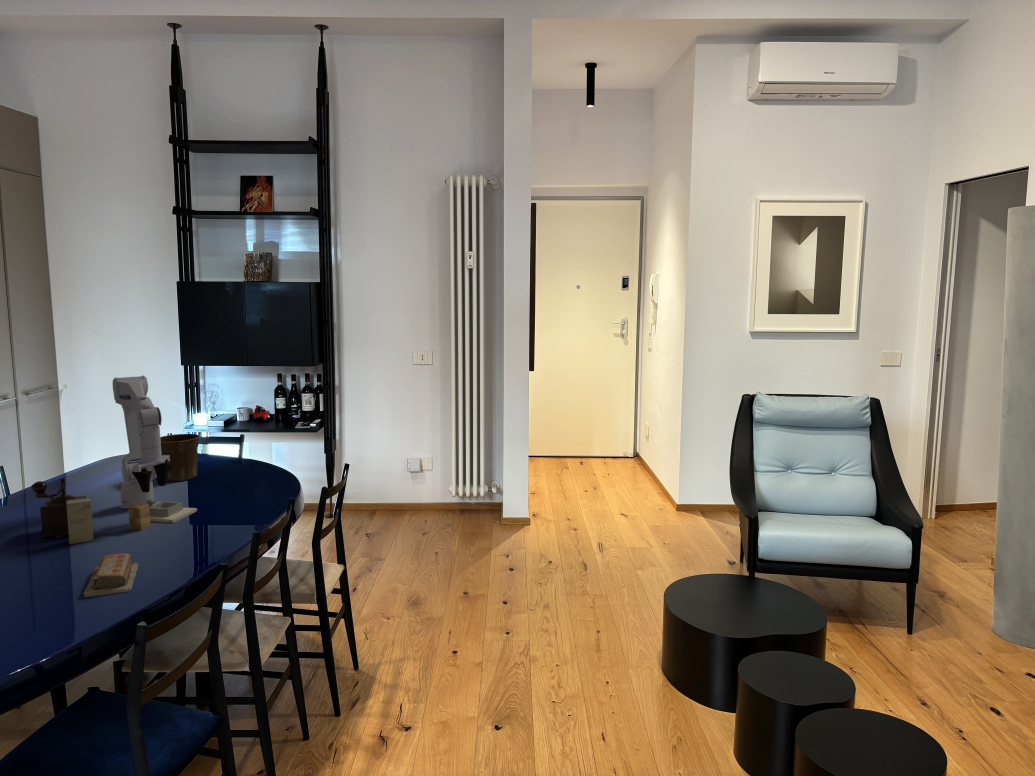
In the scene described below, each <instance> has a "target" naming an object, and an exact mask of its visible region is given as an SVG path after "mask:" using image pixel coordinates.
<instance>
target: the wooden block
mask: <svg viewBox="0 0 1035 776" xmlns="http://www.w3.org/2000/svg"><path fill="white" fill-rule="evenodd" d="M127 510H128V511H127V512H128V523H129V530H130V531H143V530H146V529H148V528H150V527H151V521H150V512H149V504H135V505H133V506H131V507H128V508H127Z"/></svg>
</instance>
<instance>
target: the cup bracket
mask: <svg viewBox="0 0 1035 776" xmlns="http://www.w3.org/2000/svg"><path fill="white" fill-rule="evenodd" d="M155 503H156V500H154V501H153V499H149V500H147V504H149V512H150V522H152V523H153V522H156V523H169V522H171V523H172V524H173V523H176V522H178V521H180V520H182V519H184V518H186V517H188V516H190V515H192V514H194V513H196V511H197V512H198V508H196V507H183V506H184V505H183V504H184V503H183V502H178V501H177V502H176V501H164V500H163V501H160V503H158V504H156V505H154V506H153V504H155Z"/></svg>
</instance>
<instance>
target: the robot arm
mask: <svg viewBox="0 0 1035 776" xmlns="http://www.w3.org/2000/svg"><path fill="white" fill-rule="evenodd" d="M112 392H113V399H114V402H115V404H118V405H120V406H121V408H122V410H123V417H124V423H125V430H126V438H127V444H128V449H129V450H128V451H129V452H128V453H127V454H125V456H124V457H123V458H122V460H121V473H122V474H121V476H122V479H123V480H124V481H123V482H122V483H121V485H120V490H119V491H120V500H121V501H120V502H121V505H120V507H119V508H120V509H128V507H131V506H133V505H135V504H147V500H149V499H153V501H156V500H155V497H154V485H153V480H154V478H156V481H157V485H158V487H160V486H161V487H165V486H166V483H167V481H166V480H167V475H168V472H169V470H170V468H171V466H172V463H171V462H169V461H170V455H163V456H162V453H161V440H160V437H161V428H160V427H161V426H162V420H163V419H162V413H161V410H160V408H159V407H157V406H155V405H154V404H153V401H152V399H151V398H150V397H149V396H147V394H148V392H149V383H148V378H147V376H145V375H140V376H127V377H114V378H113V379H112ZM160 502H161V501H159V500H157V501H156V503H155V504H153V506H154V505H156V504H158V503H160Z"/></svg>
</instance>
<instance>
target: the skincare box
mask: <svg viewBox="0 0 1035 776" xmlns="http://www.w3.org/2000/svg"><path fill="white" fill-rule="evenodd" d="M66 504H67V519H68V534H69V536H68V544H69V545H73V544H81V543H88V542H93V541H94V540H95V539H94V526H93V511H92V498H91V497H87V498H82V499H74V500H67V501H66Z"/></svg>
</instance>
